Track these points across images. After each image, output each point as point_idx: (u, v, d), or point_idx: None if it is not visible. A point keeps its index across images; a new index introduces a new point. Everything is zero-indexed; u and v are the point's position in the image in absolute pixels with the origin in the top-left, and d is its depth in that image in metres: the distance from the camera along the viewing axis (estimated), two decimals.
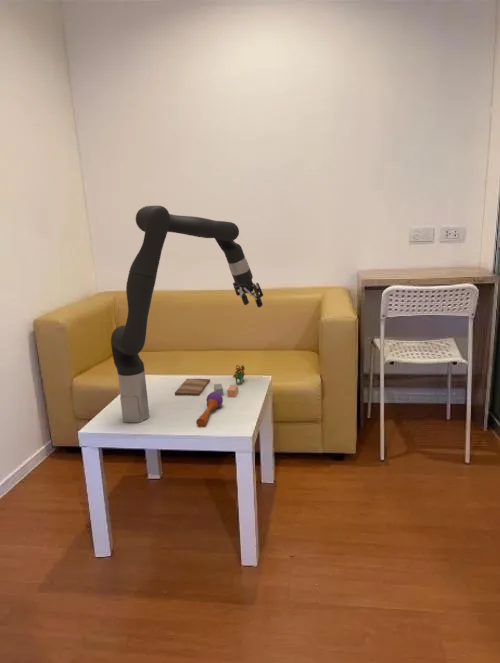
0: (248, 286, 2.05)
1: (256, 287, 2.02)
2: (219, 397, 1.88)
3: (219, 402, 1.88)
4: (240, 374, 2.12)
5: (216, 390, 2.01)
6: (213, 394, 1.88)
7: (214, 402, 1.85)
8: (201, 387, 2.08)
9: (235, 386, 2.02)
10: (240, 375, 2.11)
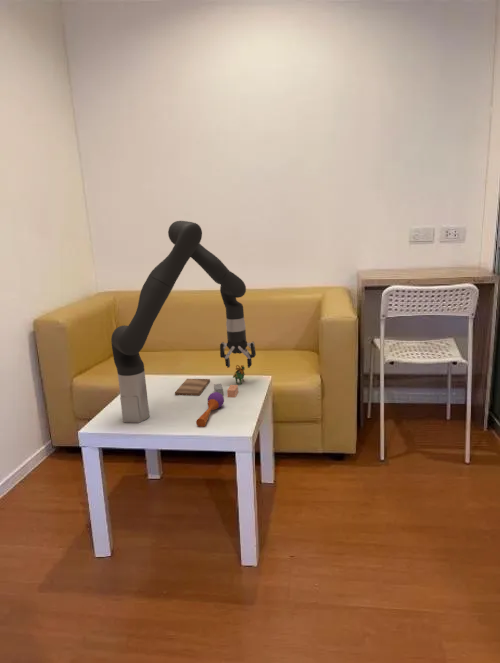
0: (243, 345, 2.08)
1: (253, 345, 2.08)
2: (220, 397, 1.88)
3: (220, 402, 1.87)
4: (240, 374, 2.12)
5: (216, 390, 2.01)
6: (214, 394, 1.88)
7: (214, 402, 1.85)
8: (201, 387, 2.08)
9: (235, 386, 2.02)
10: (240, 375, 2.11)
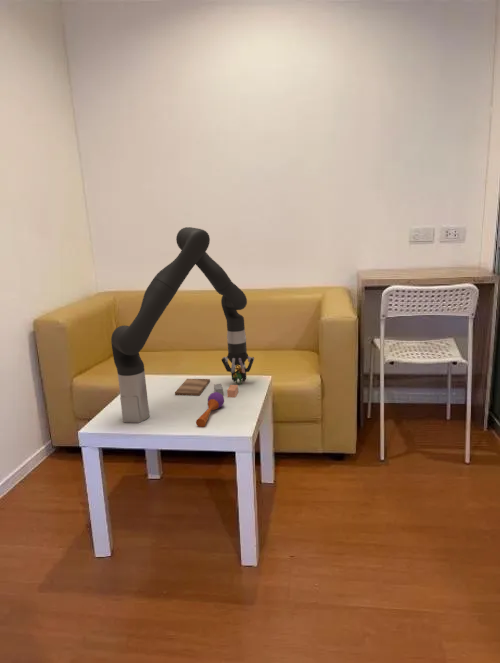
0: (244, 358, 2.09)
1: None
2: (220, 397, 1.88)
3: (220, 402, 1.87)
4: (240, 374, 2.12)
5: (216, 390, 2.01)
6: (214, 394, 1.88)
7: (215, 403, 1.85)
8: (201, 387, 2.08)
9: (235, 386, 2.02)
10: (240, 375, 2.11)
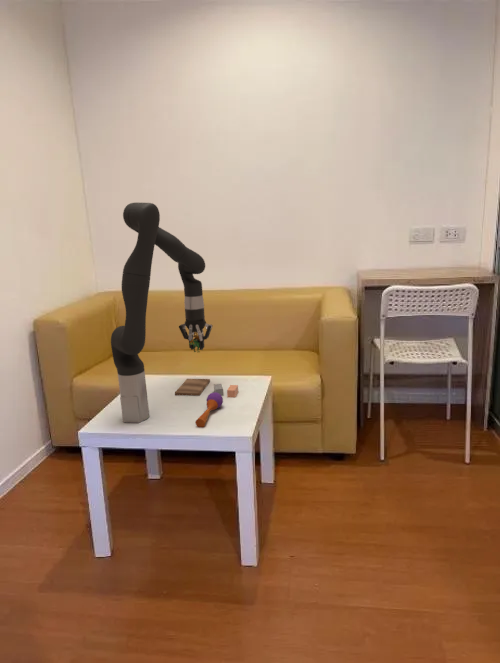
0: (202, 325, 2.03)
1: (210, 328, 2.03)
2: (219, 398, 1.87)
3: (219, 403, 1.87)
4: (198, 342, 2.06)
5: (216, 390, 2.00)
6: (213, 394, 1.88)
7: (213, 403, 1.85)
8: (201, 387, 2.08)
9: (235, 386, 2.02)
10: (198, 343, 2.05)
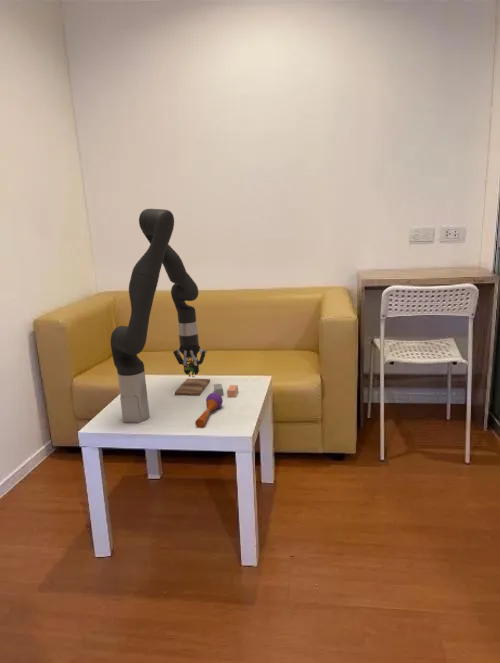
0: (196, 351, 2.06)
1: (205, 353, 2.06)
2: (219, 398, 1.87)
3: (219, 403, 1.87)
4: (192, 367, 2.08)
5: (216, 390, 2.00)
6: (213, 395, 1.88)
7: (213, 403, 1.85)
8: (201, 387, 2.08)
9: (235, 386, 2.02)
10: (192, 368, 2.08)
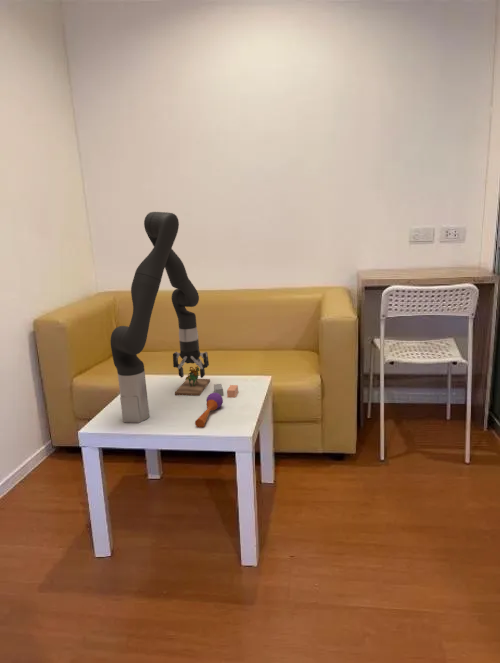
0: (196, 355, 2.06)
1: (206, 355, 2.06)
2: (219, 398, 1.87)
3: (219, 403, 1.87)
4: (194, 376, 2.09)
5: (216, 390, 2.00)
6: (213, 395, 1.87)
7: (213, 403, 1.85)
8: (201, 387, 2.08)
9: (235, 386, 2.02)
10: (193, 377, 2.09)
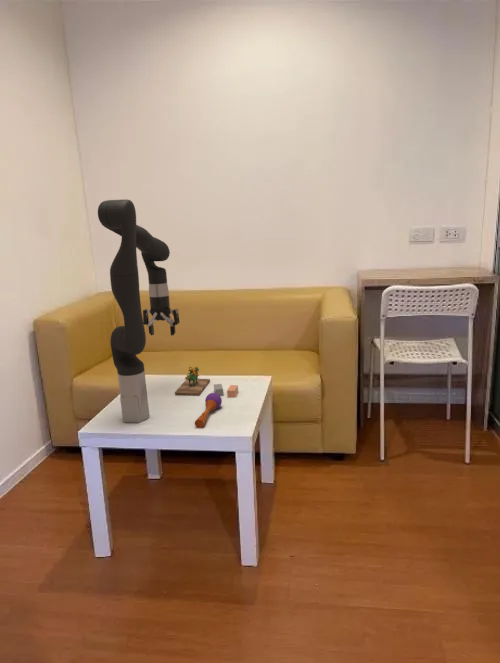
0: (166, 311, 2.02)
1: (176, 312, 2.02)
2: (218, 398, 1.87)
3: (218, 403, 1.87)
4: (193, 376, 2.09)
5: (216, 390, 2.00)
6: (212, 395, 1.87)
7: (212, 403, 1.84)
8: (201, 387, 2.08)
9: (235, 386, 2.02)
10: (193, 377, 2.09)
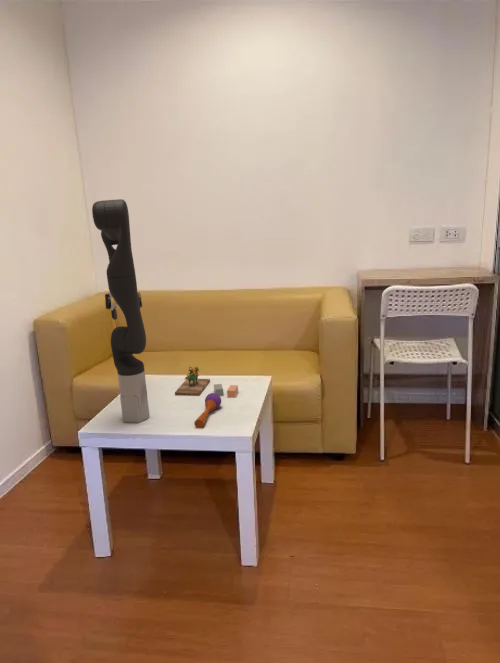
0: None
1: (138, 296, 2.01)
2: (218, 398, 1.87)
3: (218, 403, 1.87)
4: (193, 376, 2.09)
5: (216, 390, 2.00)
6: (212, 395, 1.87)
7: (212, 403, 1.84)
8: (201, 387, 2.08)
9: (235, 386, 2.02)
10: (193, 377, 2.09)
